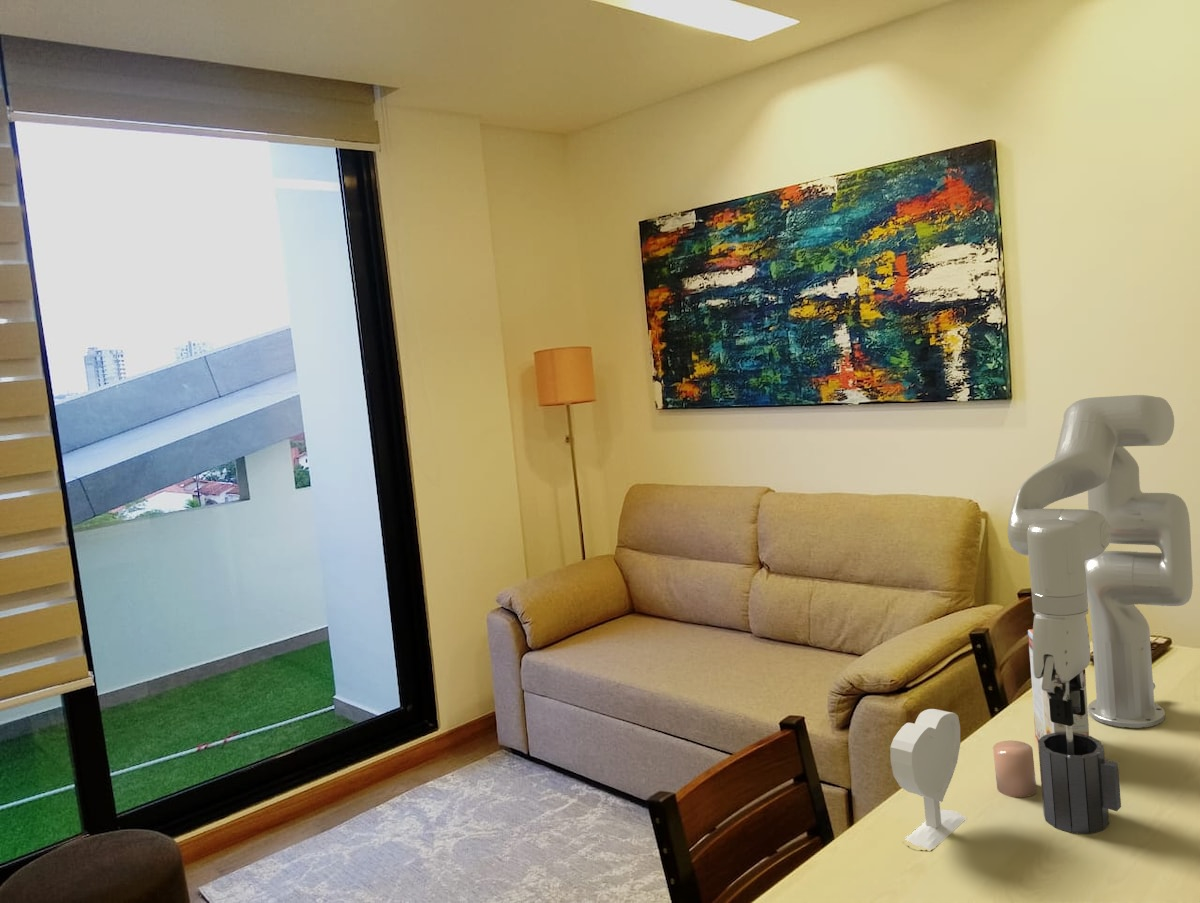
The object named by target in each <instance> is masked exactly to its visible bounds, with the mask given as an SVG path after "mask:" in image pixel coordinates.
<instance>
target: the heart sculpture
mask: <svg viewBox="0 0 1200 903" xmlns="http://www.w3.org/2000/svg"><path fill="white" fill-rule="evenodd" d="M959 719H960V718H959V715H958V714H957V713H955V712H951V711H946V710H942V709H937V708H936V709H935V708H928V709H925V710H923V711H921V712H920V713H919V714H918V716H917V718H916V720H915V722H914V723H913V722H906V723H904V725H902V726H901V727H900V729H899V730H898V731H897V732H896V734H895V736H894V737H893V739H892V742H891V744H890V748H889V749H890V750H889V751H890V753H889V754H890V756H889V757H890V758H889V759H890V764H891V770H892V776H893V777H894V779H895V781H896V783H897V784H898V785H899V787H900V788H901V789H903V790H905V791H906V792H908V793H912V794H914V795H917V796H920V797H923V807H924V816H925V820H926V821H925V820H924V821H925V822H924V823H922V822H921V823H922V825H921V826H919V825H918V826H919V827H918V826H917V827H918V828H917V827H916V828H917V829H916V828H915V829H916V830H914V829H913V830H914V831H913V830H912V831H913V832H912V831H911V832H912V834H910V833H909V834H910V835H909V834H908V835H909V836H908V835H906V837H907V838H906V837H905V838H906V839H905V840H907V842H908V841H909V842H911V843H912V844H914V845H916V846H920V845H921V846H923V847H924V848H926V849H930V850H931V849H933V848H934V847H935V846H937V845H938V844H939V843H940V844H942V842H943V841H944V840H946V839H947V838H948V837H949V836H950V835H951V834H952V833H953V832H954V831H955V830H957V828H958V827H959V826H961V824H962V823H963V822H965V820H967V817H966V816H964V815H963V814H961V813H960V812H958V811H955V810H950V809H941V805H940V804H941V803H942V802H943V801H944V798H945V795H946V792H947V791H948V788H949V786H950V784H951V781H952V778H953V776H954V773H955V770H956V767H957V764H958V760H959V753H960V749H961V724H960V720H959ZM940 844H939V845H940ZM939 845H938V846H939ZM921 846H920V847H921ZM938 846H937V847H938ZM920 847H919V848H920ZM923 847H922V848H923Z"/></svg>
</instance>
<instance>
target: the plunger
mask: <svg viewBox="0 0 1200 903" xmlns="http://www.w3.org/2000/svg"><path fill="white" fill-rule="evenodd" d="M1059 687H1060V688H1061V689H1062V686H1059ZM1069 699H1070V700H1072V705H1073V714H1077V713H1079V712H1080V711H1081V704H1080V691H1079V689H1077V688H1075V687H1070V686H1069ZM1066 737H1067V751H1068V755H1074V743H1073V730H1072V726H1067V725H1066Z"/></svg>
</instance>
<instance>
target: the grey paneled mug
mask: <svg viewBox="0 0 1200 903" xmlns="http://www.w3.org/2000/svg"><path fill="white" fill-rule="evenodd" d="M1073 743H1074V755H1068V751H1067V737H1066V732H1056V733H1051V734H1047V735H1044V736H1043V737H1042V738H1040V739H1039V740H1037V746H1038V748H1037V749H1038V759H1039V770H1040V784H1041V795H1042V797H1041V798H1042V810H1043V816H1044V821H1046V823H1048V824H1049V825H1051V826H1052V827H1053V828H1055V829H1057V830H1060V831H1064V832H1066V833H1067V832H1068V833H1070V834H1081V835H1084V834H1086V835H1089V834H1090V835H1091V834H1095V833H1099V832H1102V831H1105V829H1106V828H1107V827H1108V826H1109V824H1110V816H1109V814H1110V813H1109V810H1110V811H1115V812H1118V811H1119V810H1120V809H1121V808H1122V802H1121V801H1122V799H1121V788H1120V787H1121V786H1120V784H1121V783H1120V774H1119V773H1120V771H1119V762H1118V761H1114V760H1111V759H1110V760H1109V759H1106V757H1105V748H1104V745H1103V743H1102V741H1100V740H1099V739H1097V738H1095V737H1093V736H1091V735H1090V734H1089V735H1084V734H1079V733H1074V732H1073Z"/></svg>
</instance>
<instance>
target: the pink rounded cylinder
mask: <svg viewBox="0 0 1200 903" xmlns="http://www.w3.org/2000/svg"><path fill="white" fill-rule="evenodd" d="M992 751H993V752H992V753H993V761H994V770H995V772H994V773H995V781H996V789H997V791H998V792H999V793H1001V794H1002V795H1005V796H1006V797H1007V796H1008V797H1010V798H1011V797H1012V798H1027V797H1031V796H1033V795H1035V794H1036V792H1037V782H1036V780H1037V779H1036V770H1035V763H1034V762H1035V760H1034V752H1033V747H1032V745H1030V744H1028V743H1026V742H1024V741H1020V740H1002V741H998V742H996V743H995V744H994V745H993V747H992Z"/></svg>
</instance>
